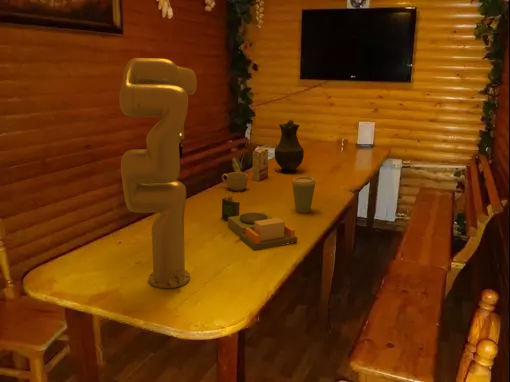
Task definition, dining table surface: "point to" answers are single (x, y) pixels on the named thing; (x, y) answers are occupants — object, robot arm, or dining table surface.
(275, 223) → the pale beige box
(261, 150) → the candy bar box
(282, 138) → the pitcher
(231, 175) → the teacup
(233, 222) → the tray with orange tabs
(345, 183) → the dining table surface
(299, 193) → the disposable coffee cup
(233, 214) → the flask
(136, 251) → the dining table surface
